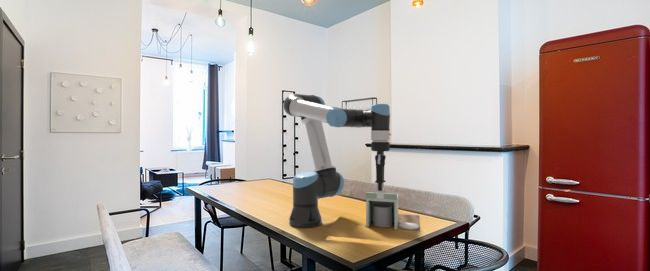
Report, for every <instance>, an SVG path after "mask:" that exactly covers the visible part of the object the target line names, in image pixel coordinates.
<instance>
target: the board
mask: <svg viewBox="0 0 650 271" xmlns="http://www.w3.org/2000/svg"><path fill="white" fill-rule="evenodd" d="M420 221H421V220H420V215H419V214H418V215H417V214H403V213H402V214H401V213H398V225H397V229H395V230H396V231H397V230H398V231H410V232H421V223H420ZM400 223H415V224H418V225H419V228H418V229H404V228H401V227H400V226H399V224H400ZM364 227H365V228H367V227H366V225H365V226H364ZM371 228H372V229H378V226H371ZM384 229H385V230H391V228H389V227H383V230H384Z"/></svg>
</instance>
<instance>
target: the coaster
mask: <svg viewBox="0 0 650 271" xmlns="http://www.w3.org/2000/svg"><path fill="white" fill-rule="evenodd" d="M399 226H400V227H401V228H404V229H418V228H419V225H418V224H415V223H400V224H399Z"/></svg>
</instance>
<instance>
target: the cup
mask: <svg viewBox="0 0 650 271" xmlns="http://www.w3.org/2000/svg"><path fill="white" fill-rule="evenodd" d="M372 223H373V224H372V225H373V226H374V227H377V228H389V227H392V226H393V222H392V205H390V204H385V203H378V204H374V205H373V220H372Z"/></svg>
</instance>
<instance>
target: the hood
mask: <svg viewBox="0 0 650 271" xmlns="http://www.w3.org/2000/svg"><path fill="white" fill-rule="evenodd" d="M365 195H366V196H365V197H366V198H365V202H366V203H365V207H366V208H365V212H366V213H365V217H366V218H365V224H366V225H365V226H366V227H365V228H370V225H371V223H372V222H373V205H374V204H378V203H385V204H390V205H392V223H394V224H393V225H394V228H393V230H396V229H397V225H398V214H399V193H392V192H384V199H379V198H377V191H376V192H374V191H373V192H372V191H366V193H365Z"/></svg>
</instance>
